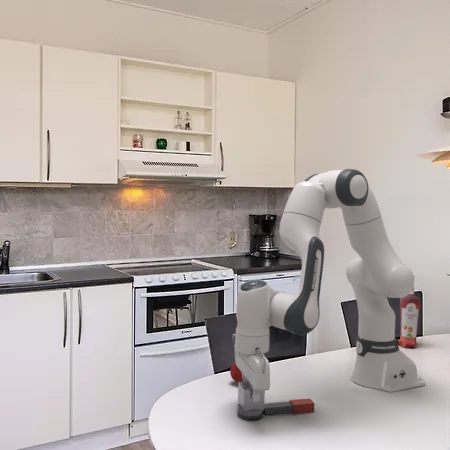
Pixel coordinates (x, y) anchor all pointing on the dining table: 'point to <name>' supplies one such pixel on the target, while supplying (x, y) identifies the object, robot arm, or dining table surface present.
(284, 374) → the dining table surface
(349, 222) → the robot arm
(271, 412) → the ratchet
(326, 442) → the dining table surface
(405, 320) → the liquor
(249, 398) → the gray cube
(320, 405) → the dining table surface
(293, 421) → the dining table surface
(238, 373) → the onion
